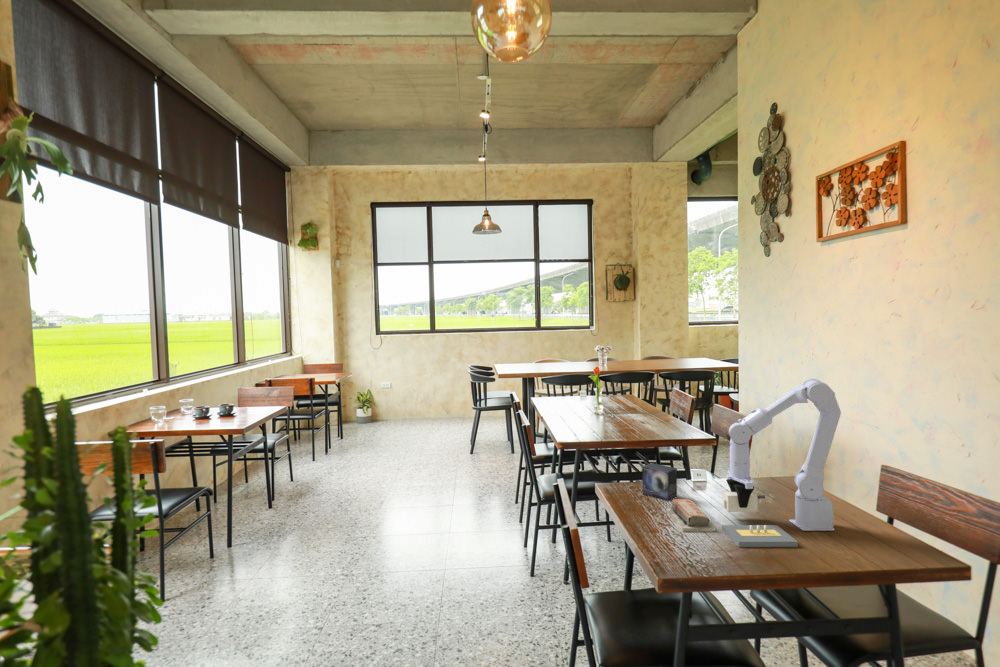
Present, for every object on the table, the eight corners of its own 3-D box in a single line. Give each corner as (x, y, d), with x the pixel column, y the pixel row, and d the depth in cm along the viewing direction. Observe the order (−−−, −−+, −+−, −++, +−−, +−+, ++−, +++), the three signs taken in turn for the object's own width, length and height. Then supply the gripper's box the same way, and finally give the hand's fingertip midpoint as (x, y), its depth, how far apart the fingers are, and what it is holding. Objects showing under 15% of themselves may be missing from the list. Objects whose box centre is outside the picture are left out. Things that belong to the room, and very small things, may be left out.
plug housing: (761, 507, 169) (761, 491, 169) (767, 511, 165) (767, 495, 165) (723, 507, 169) (723, 491, 169) (728, 511, 165) (728, 495, 165)
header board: (776, 530, 158) (776, 518, 158) (798, 547, 146) (797, 534, 146) (722, 530, 159) (721, 518, 158) (738, 547, 147) (738, 534, 146)
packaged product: (665, 497, 176) (696, 497, 175) (665, 512, 176) (696, 512, 176) (682, 517, 158) (716, 517, 157) (682, 533, 158) (716, 533, 158)
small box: (641, 494, 193) (641, 465, 192) (651, 490, 197) (651, 462, 197) (668, 501, 185) (667, 471, 185) (677, 497, 189) (677, 467, 189)
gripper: (718, 456, 174) (718, 497, 175) (736, 468, 160) (736, 513, 160) (739, 455, 174) (740, 497, 174) (760, 467, 160) (760, 513, 160)
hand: (740, 504), depth 167 cm, fingers closed on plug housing, 4 cm apart
